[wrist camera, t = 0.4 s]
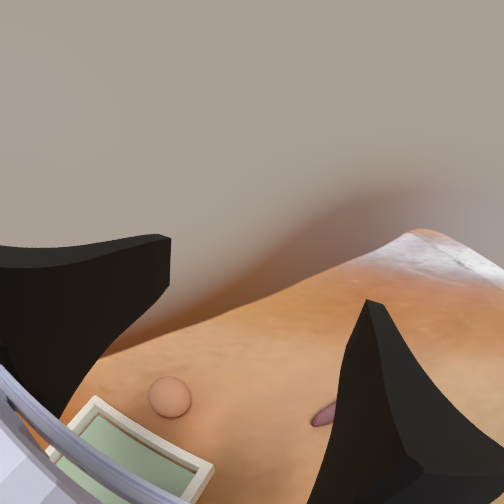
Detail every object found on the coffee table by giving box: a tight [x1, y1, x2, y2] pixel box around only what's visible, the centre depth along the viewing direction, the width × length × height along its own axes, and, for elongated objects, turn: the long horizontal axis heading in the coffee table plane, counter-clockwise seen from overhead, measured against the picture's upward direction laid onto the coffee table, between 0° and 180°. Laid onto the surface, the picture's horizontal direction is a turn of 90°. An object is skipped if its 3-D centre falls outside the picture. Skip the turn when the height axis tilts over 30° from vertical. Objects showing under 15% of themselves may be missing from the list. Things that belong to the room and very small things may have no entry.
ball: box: [149, 377, 191, 417], centre depth 25 cm, size 4×4×4 cm
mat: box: [56, 415, 195, 504], centre depth 18 cm, size 11×11×1 cm
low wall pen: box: [45, 395, 215, 504], centre depth 17 cm, size 14×14×2 cm
